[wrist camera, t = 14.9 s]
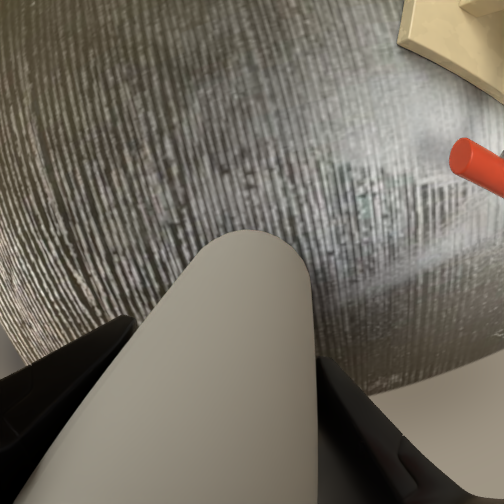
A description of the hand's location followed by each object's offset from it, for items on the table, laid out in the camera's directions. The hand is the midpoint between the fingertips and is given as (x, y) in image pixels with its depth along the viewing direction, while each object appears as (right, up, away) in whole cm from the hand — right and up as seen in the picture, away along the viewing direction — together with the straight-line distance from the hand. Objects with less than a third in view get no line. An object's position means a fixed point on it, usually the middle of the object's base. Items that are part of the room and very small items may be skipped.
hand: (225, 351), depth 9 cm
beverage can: (+1, +2, +5) cm, 5 cm away
